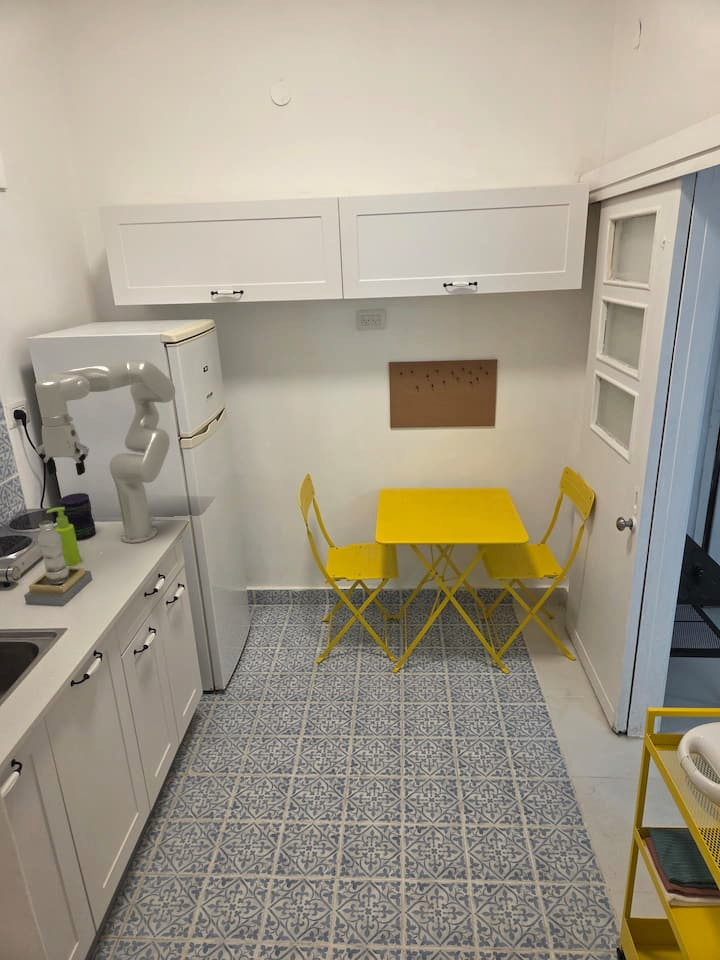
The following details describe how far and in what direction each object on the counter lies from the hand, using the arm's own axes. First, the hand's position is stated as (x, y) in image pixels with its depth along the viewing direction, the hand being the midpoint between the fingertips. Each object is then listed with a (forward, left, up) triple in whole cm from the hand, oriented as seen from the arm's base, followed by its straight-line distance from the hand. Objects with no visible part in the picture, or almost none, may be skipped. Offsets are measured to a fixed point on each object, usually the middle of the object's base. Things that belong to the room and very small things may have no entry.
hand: (67, 473), depth 196 cm
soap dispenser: (-3, -8, -34) cm, 35 cm away
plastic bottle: (+15, 0, -31) cm, 34 cm away
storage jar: (-24, -16, -34) cm, 44 cm away
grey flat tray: (+15, 0, -33) cm, 37 cm away
